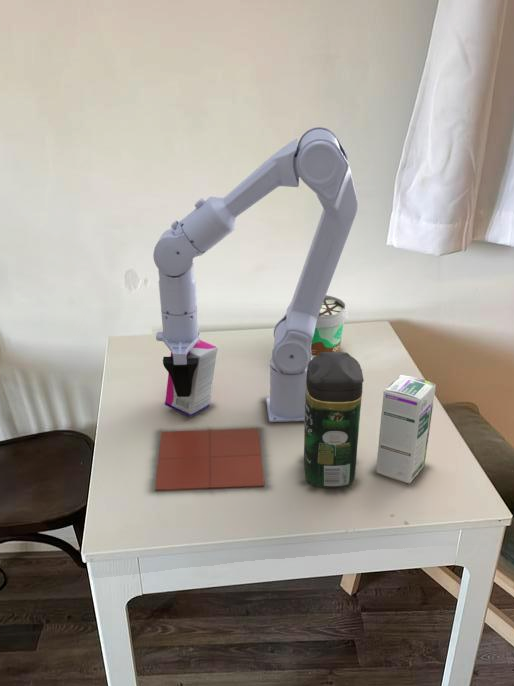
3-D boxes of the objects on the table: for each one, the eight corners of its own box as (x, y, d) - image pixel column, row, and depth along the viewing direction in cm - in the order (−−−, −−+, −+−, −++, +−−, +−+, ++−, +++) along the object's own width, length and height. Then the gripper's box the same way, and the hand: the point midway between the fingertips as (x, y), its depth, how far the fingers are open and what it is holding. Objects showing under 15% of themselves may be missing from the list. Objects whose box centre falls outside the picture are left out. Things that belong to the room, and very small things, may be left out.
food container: (341, 369, 134) (344, 320, 128) (309, 366, 135) (311, 317, 129) (348, 342, 144) (351, 295, 138) (318, 339, 145) (321, 293, 139)
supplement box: (210, 406, 122) (219, 346, 116) (190, 418, 118) (199, 357, 111) (183, 393, 124) (191, 334, 117) (163, 404, 119) (170, 344, 113)
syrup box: (410, 485, 103) (423, 399, 95) (374, 472, 106) (383, 388, 97) (424, 466, 107) (438, 382, 99) (389, 455, 110) (399, 372, 101)
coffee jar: (302, 454, 110) (306, 346, 99) (352, 455, 110) (361, 346, 99) (303, 491, 102) (307, 377, 91) (357, 491, 102) (367, 378, 91)
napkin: (258, 429, 116) (258, 428, 115) (264, 486, 103) (264, 485, 102) (161, 433, 115) (161, 431, 114) (155, 491, 102) (155, 489, 101)
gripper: (156, 292, 116) (163, 365, 124) (150, 327, 104) (158, 406, 112) (198, 291, 117) (202, 365, 125) (197, 326, 105) (201, 405, 113)
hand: (184, 384), depth 119 cm, fingers closed on supplement box, 7 cm apart
